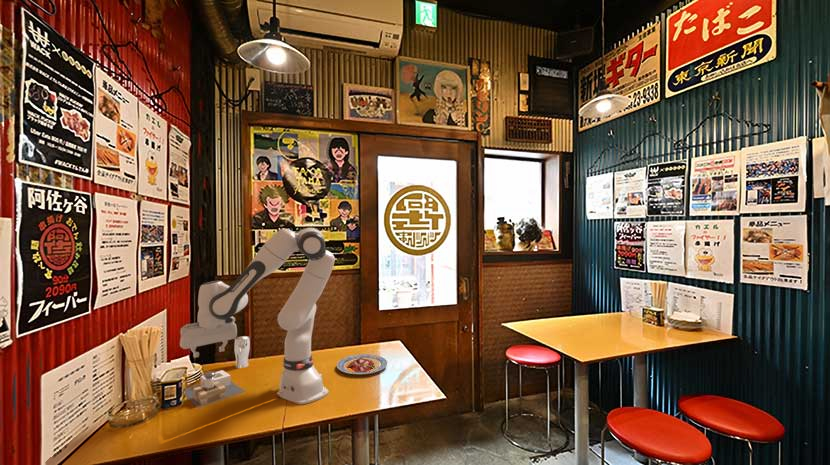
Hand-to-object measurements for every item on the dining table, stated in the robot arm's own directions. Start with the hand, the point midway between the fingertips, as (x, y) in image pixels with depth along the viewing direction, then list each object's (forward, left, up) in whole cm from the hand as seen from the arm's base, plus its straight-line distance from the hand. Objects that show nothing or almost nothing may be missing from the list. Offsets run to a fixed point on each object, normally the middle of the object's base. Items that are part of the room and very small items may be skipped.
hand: (209, 354), depth 138 cm
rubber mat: (+5, -3, -19) cm, 20 cm away
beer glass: (+24, -23, -19) cm, 38 cm away
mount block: (0, 0, -18) cm, 18 cm away
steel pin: (0, 0, -18) cm, 18 cm away
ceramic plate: (-21, -64, -19) cm, 70 cm away
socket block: (+10, -6, -18) cm, 21 cm away
